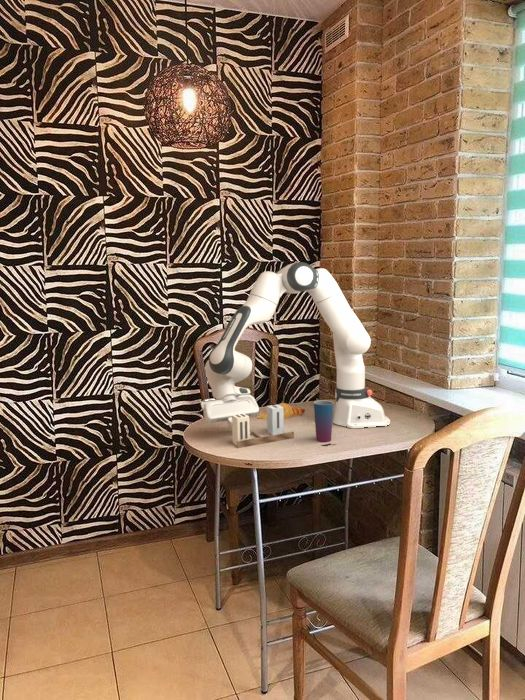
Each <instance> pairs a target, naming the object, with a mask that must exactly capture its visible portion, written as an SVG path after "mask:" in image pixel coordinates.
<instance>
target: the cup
mask: <svg viewBox="0 0 525 700" xmlns="http://www.w3.org/2000/svg"><path fill="white" fill-rule="evenodd" d="M313 411H314V423H315V424H314V425H315V427H314V428H315V440H316V442H319V443H325V444H322V445H321V444H320V445H319V446H321V447H328V445H329V446H330V444H331V445H332V443H330V442H331V441H332V432H333V417H334V401H331V400H327V399H318V400H316V401H314V402H313Z"/></svg>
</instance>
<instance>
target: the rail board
mask: <svg viewBox="0 0 525 700" xmlns="http://www.w3.org/2000/svg"><path fill="white" fill-rule="evenodd" d="M250 435H252V436H253V437H255V438H250V439H248V440H242V441H237V445H236V449H242V448H247V447H253V446H257V445H258V446H259V445H263V444H269V443H274V442H280V441H286V440H292V439H295V431H289V432H284V433H282V434H276V435H271V434H270V435H265V436H260V435H259V434H257V433H256V432H254V431H250Z"/></svg>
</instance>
